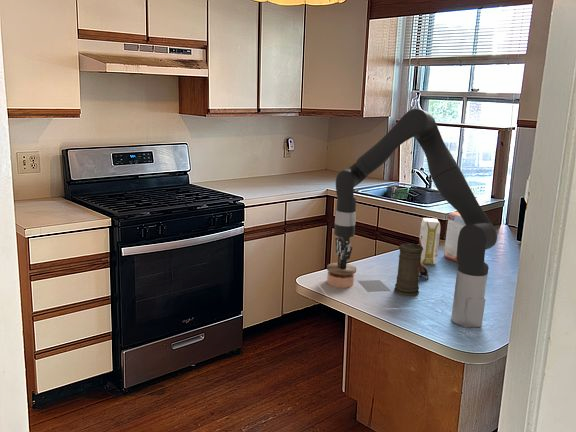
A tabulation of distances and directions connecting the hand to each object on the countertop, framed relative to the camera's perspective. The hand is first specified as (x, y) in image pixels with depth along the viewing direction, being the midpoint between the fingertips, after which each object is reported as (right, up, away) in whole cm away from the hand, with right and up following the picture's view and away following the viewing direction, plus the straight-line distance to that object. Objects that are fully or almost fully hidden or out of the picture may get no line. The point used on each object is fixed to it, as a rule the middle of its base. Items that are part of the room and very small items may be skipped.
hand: (341, 267), depth 201 cm
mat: (+12, -7, 0) cm, 14 cm away
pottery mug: (+31, -6, +13) cm, 34 cm away
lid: (0, -1, 0) cm, 1 cm away
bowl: (0, -6, +2) cm, 7 cm away
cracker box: (+56, -1, +38) cm, 68 cm away
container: (+23, -9, -4) cm, 26 cm away
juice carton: (+41, -1, +34) cm, 53 cm away
